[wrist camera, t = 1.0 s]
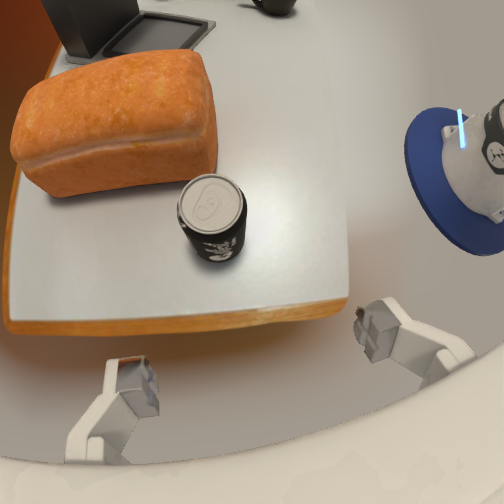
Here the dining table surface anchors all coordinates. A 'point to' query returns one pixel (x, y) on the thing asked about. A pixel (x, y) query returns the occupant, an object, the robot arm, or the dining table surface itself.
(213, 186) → the beverage can
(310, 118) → the dining table surface
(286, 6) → the mug
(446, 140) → the robot arm
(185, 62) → the bread
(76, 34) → the coffee machine
